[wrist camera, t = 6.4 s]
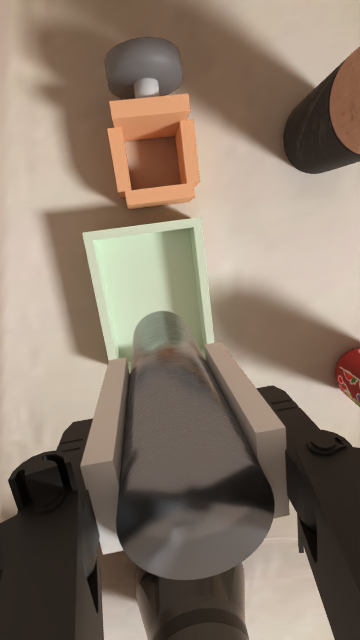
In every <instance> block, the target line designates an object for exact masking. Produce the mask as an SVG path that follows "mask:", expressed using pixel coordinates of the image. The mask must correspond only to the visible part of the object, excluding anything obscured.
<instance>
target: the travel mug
mask: <svg viewBox="0 0 360 640" xmlns="http://www.w3.org/2000/svg"><path fill="white" fill-rule="evenodd" d="M283 140H284V148H285V152H286V155H287V157H288V159H289V160H290V162H291V163H292V164H293V165H294V166H295V167H296V168H297V169H299V170H300V171H302V172H305V173H310V174H317V173H323V172H326V171H330V170H333V169H336V168H340V167H343V166H346V165H349V164H353V163H356V162H359V161H360V47H359V48H358V49H356V50H355V51H354V52H353V53H352V54H351V55H350V56H349V57H348V58H347V59H345V60H344V61H343V62H342V63H341V64H340V65H339V66H338V67H337V68H336V69H335V70H334V71H333V72H332V73H331V74H330V75H329V76H328V77H327V78H326V79H325V80H323V81H322V82H321V83H320V84H319V85H318V86H317V87H316V88H315V89H314V90H313V91H312V92H311V93H310V94H309V95H308V96H307V97H306V98H305V99H304V100H303V101H302V102H301V103H300V104H299V105H298V106H297V107H296V108H295V109H294V110H293V112H292V113H291V115H290V116H289V118H288V120H287V123H286V126H285V129H284V137H283Z"/></svg>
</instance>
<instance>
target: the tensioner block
mask: <svg viewBox="0 0 360 640" xmlns="http://www.w3.org/2000/svg"><path fill="white" fill-rule="evenodd" d="M105 68H106V74H107V80H108V86H109V90H110V91H111V93H112V94H114V95H115V96H117V97H119V98H122V99H126V100H117V101H109V103H110V109H111V115H112V120H113V124H114V128H107V130H108V136H109V142H110V148H111V154H112V160H113V166H114V171H115V177H116V183H117V189H118V193H119V195H120V197H121V198H123V197H126V202H127V206H128V208H129V209H137V208H145V207H153V206H161V205H168V204H176V203H184V202H189V201H191V200H192V199H193V198H194V197H195V191H194V187H195V186H196V185H197V184H198V183H199V182H200V176H199V166H198V157H197V147H196V138H195V128H194V119H193V120H187V118H188V115H189V113H190V104H189V95H188V94H178V95H168V94H170V93H171V92H173V91H175V90H176V89H177V88H178V87H179V86H180V85H181V83H182V79H183V77H182V68H181V59H180V52H179V49H178V48H177V47H176V46H175V45H174V44H173V43H171V42H169V41H167V40H164V39H160V38H153V37H144V38H136V39H131V40H128V41H125V42H123V43H120V44H119V45H117V46H115V47H114V48H113V49H111V50H110V51H109V53H108V54H107V56H106V58H105ZM165 95H168V96H165ZM169 136H175V139H176V148H177V156H178V164H179V173H180V181H181V184H179V185H170V186H162V187H154V188H146V189H138V190H132V188H131V181H130V175H129V169H128V163H127V156H126V150H125V144H124V141H132V140H142V139H151V138H160V137H169Z"/></svg>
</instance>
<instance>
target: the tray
mask: <svg viewBox="0 0 360 640" xmlns="http://www.w3.org/2000/svg"><path fill="white" fill-rule="evenodd" d="M82 234H83V239H84V244H85V249H86V254H87V259H88V263H89V268H90V273H91V278H92V283H93V288H94V293H95V297H96V302H97V307H98V312H99V317H100V322H101V327H102V331H103V336H104V341H105V346H106V351H107V356H108V361H109V360H113V359H120V358H127V363H128V368H129V373H130V366H131V355H132V345H133V335H134V331H135V328H136V326H137V324H138V323H139V322H140V320H141V319H143V318H144V317H145V316H147V315H148V314H150V313H153V312H157V311H168V312H172V313H175V314H177V315H178V316H180V317H181V318H182V319H183V320H184V321H185V322H186V324H187V326H188V327H189V329H190V331H191V333H192V335H193V337H194V339H195V341H196V343H197V345H198V347H199V349H200V351H201V352H202V354H203V356H204V358H205V360H206V355H205V347H204V345H205V344H211V343H215V342H214V333H213V323H212V314H211V305H210V295H209V286H208V276H207V267H206V257H205V248H204V239H203V229H202V220H201V217H198V218H190V219H182V220H175V221H167V222H160V223H152V224H144V225H137V226H129V227H121V228H114V229H106V230H99V231H91V232H83V233H82Z"/></svg>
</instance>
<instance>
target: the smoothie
mask: <svg viewBox="0 0 360 640" xmlns="http://www.w3.org/2000/svg"><path fill="white" fill-rule="evenodd" d="M336 378H337V381H338V385H339V387H340V389H341V391H342V392H343V393H345V394H346V395H347V396H348V397H349V398H350V399H351V400H352V401H353V402H355V403H356V404H357V405H358V406H359V407H360V348H356V349H352V350H350V351H349V352H347V353H345V354H344V355H343V356H342V357H341V359H340V360H339V362H338V364H337V367H336Z"/></svg>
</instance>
